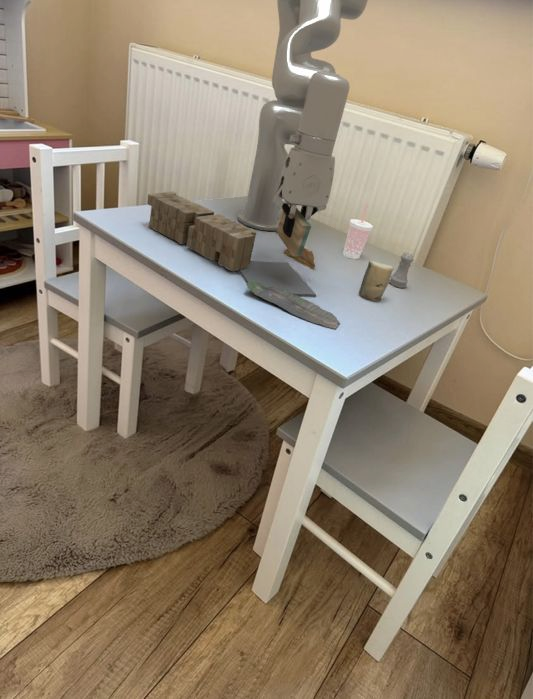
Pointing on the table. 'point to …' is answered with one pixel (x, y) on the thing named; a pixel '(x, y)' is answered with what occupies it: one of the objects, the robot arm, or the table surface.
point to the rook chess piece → (402, 271)
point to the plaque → (295, 233)
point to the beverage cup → (357, 237)
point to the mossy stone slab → (294, 304)
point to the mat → (276, 277)
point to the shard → (303, 257)
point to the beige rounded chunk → (375, 280)
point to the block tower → (202, 230)
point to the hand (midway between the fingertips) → (292, 234)
